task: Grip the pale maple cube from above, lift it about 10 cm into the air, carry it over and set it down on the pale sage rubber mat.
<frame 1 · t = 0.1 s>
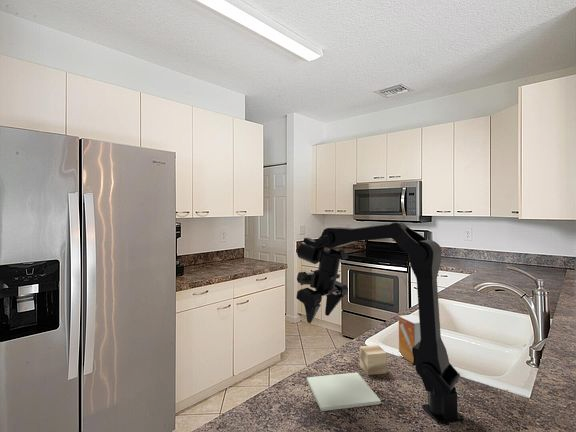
hand: (318, 318, 98), 15 cm above the counter, tool pointing down, fingers open, 9 cm apart
sage mat: (341, 391, 86), on the counter
maple cube: (373, 369, 98), on the counter
small box: (414, 359, 105), on the counter
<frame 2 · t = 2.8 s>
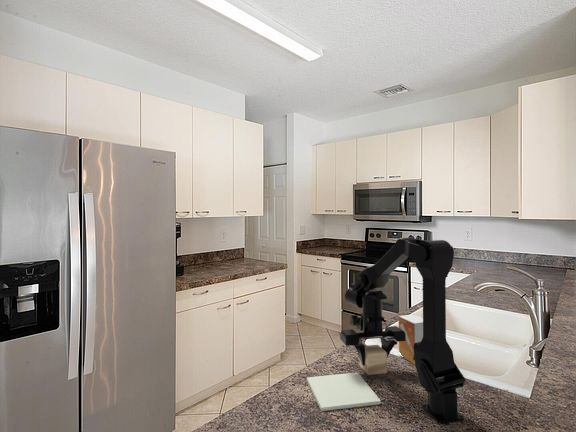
hand: (373, 364, 98), 2 cm above the counter, tool pointing down, fingers closed on maple cube, 6 cm apart
maple cube: (373, 369, 98), on the counter, touching gripper
everything else where it was.
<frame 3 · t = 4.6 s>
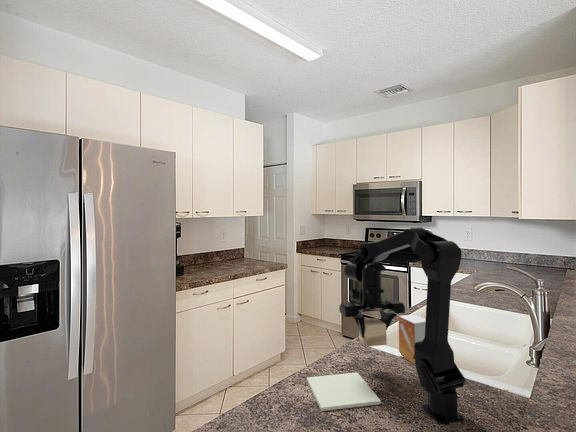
hand: (372, 336, 98), 10 cm above the counter, tool pointing down, fingers closed on maple cube, 6 cm apart
maple cube: (372, 341, 98), point 8 cm above the counter, touching gripper
everything else where it was.
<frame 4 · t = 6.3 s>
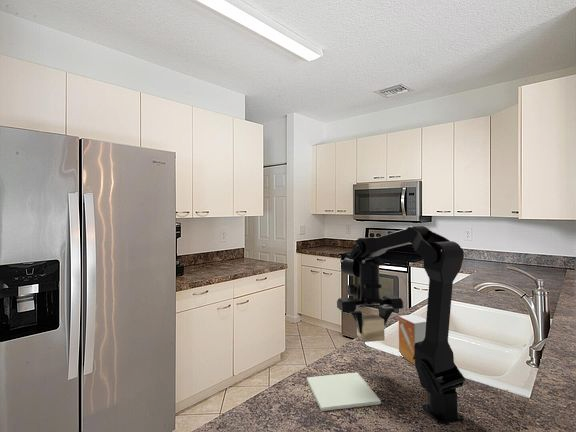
hand: (370, 332, 97), 11 cm above the counter, tool pointing down, fingers closed on maple cube, 6 cm apart
maple cube: (370, 337, 97), point 10 cm above the counter, touching gripper
everything else where it was.
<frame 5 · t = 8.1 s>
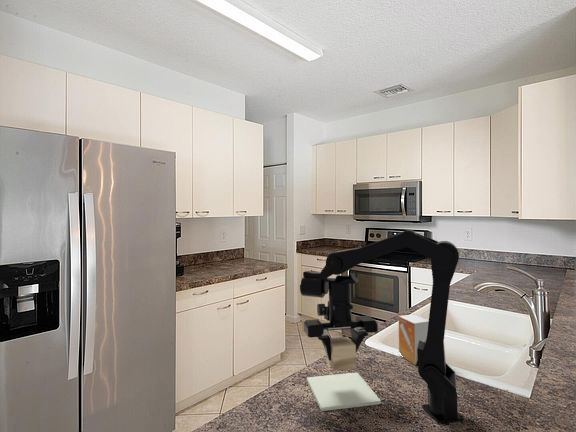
hand: (341, 358, 86), 8 cm above the counter, tool pointing down, fingers closed on maple cube, 6 cm apart
maple cube: (341, 364, 86), point 7 cm above the counter, touching gripper
everything else where it was.
when the fingers open (3 cm above the counter, at t = 9.8 s): maple cube drops 1 cm, resting on sage mat.
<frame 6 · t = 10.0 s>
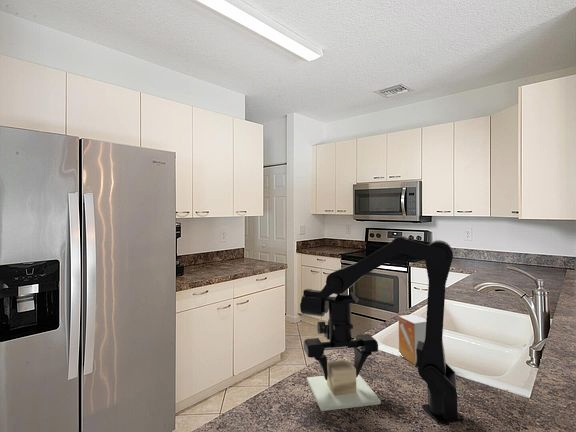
hand: (341, 377, 86), 3 cm above the counter, tool pointing down, fingers open, 8 cm apart
maple cube: (341, 388, 86), point 1 cm above the counter, touching sage mat
everything else where it was.
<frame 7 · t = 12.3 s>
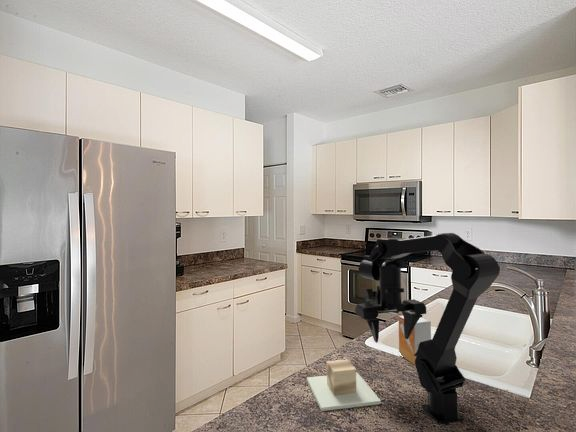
hand: (391, 340, 90), 12 cm above the counter, tool pointing down, fingers open, 9 cm apart
nothing on the counter moved.
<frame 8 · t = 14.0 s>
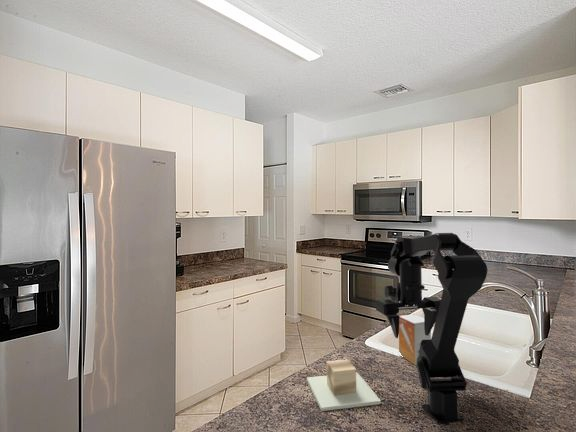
hand: (411, 336, 92), 12 cm above the counter, tool pointing down, fingers open, 9 cm apart
nothing on the counter moved.
at the end: maple cube inside the target area on the sage mat (0.1 cm from its centre), point 0.8 cm above the sage mat's base; maple cube tilted 0°; the gripper is holding nothing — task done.
